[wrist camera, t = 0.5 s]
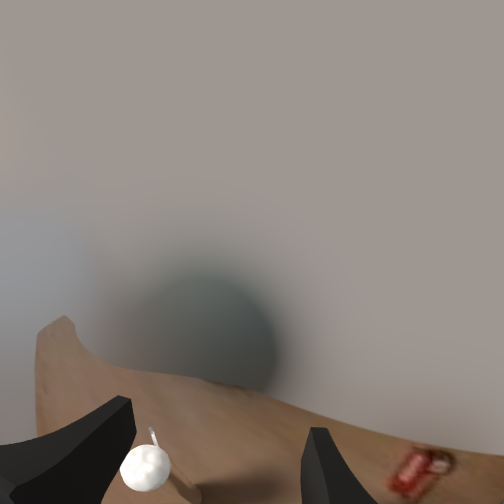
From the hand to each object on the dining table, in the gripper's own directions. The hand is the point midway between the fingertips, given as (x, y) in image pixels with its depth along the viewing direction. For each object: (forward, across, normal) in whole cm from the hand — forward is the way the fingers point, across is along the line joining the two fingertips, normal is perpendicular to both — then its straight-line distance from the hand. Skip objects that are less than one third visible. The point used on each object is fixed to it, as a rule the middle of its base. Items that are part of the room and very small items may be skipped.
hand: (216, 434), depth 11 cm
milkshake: (+8, +4, +19) cm, 22 cm away
